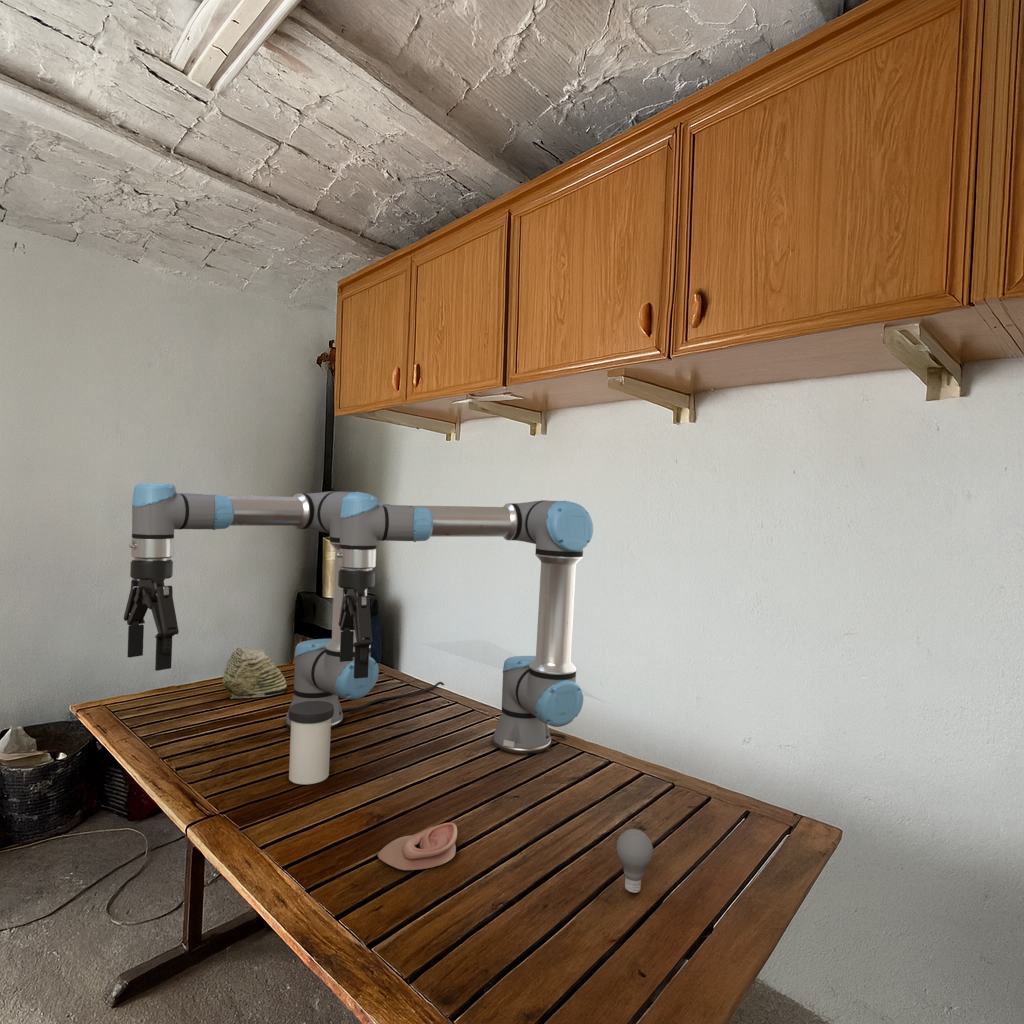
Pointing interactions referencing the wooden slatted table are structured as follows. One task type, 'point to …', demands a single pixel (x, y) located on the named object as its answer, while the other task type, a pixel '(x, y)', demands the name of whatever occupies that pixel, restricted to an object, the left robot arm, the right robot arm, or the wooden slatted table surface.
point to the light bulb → (634, 857)
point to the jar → (309, 752)
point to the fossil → (252, 674)
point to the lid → (311, 712)
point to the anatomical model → (422, 848)
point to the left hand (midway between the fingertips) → (148, 662)
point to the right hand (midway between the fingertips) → (353, 669)
